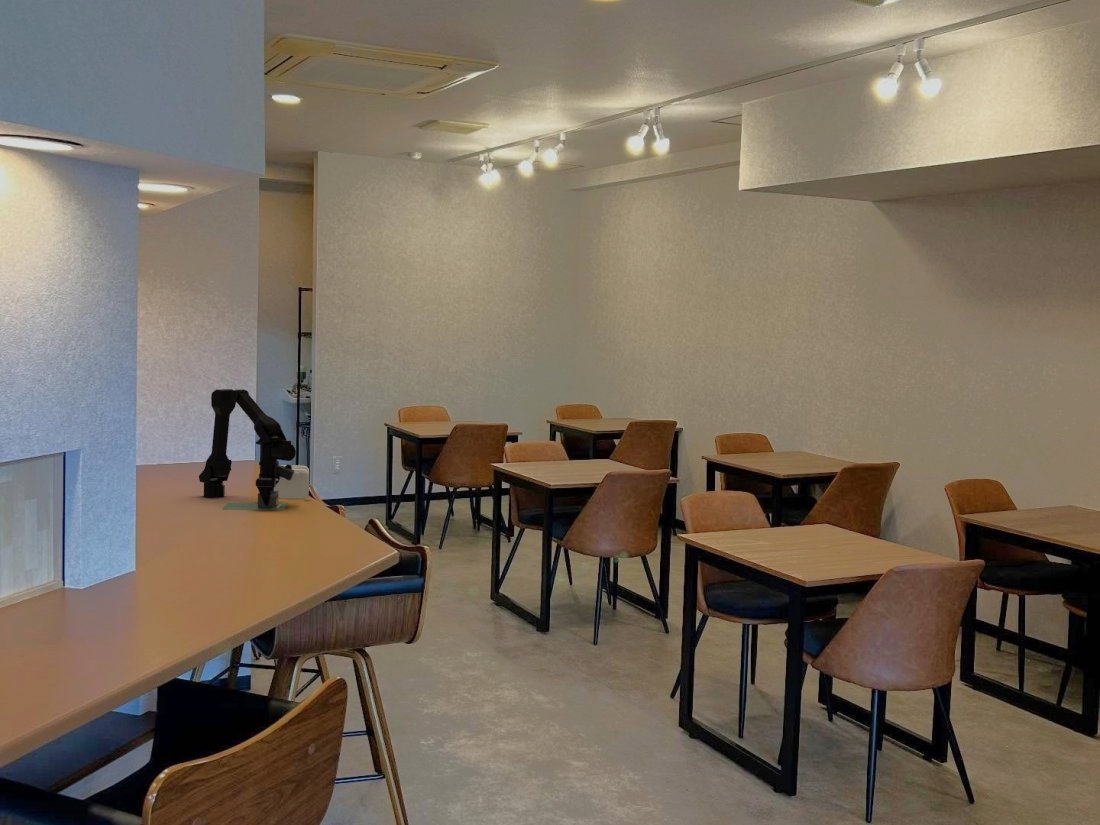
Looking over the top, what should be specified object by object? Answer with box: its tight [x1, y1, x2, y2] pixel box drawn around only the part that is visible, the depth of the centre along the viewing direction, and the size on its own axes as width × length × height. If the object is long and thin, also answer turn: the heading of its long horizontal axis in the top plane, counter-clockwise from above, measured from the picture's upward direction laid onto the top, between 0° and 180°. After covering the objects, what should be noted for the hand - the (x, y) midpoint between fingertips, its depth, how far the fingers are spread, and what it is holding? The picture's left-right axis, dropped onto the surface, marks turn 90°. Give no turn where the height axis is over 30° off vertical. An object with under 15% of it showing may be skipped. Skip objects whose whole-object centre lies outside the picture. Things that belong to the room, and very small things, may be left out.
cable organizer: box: [274, 464, 310, 500], centre depth 372 cm, size 15×11×12 cm
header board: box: [221, 498, 288, 511], centre depth 350 cm, size 20×14×4 cm
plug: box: [257, 491, 278, 507], centre depth 350 cm, size 6×7×4 cm
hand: (268, 503), depth 351 cm, fingers closed on plug, 7 cm apart
